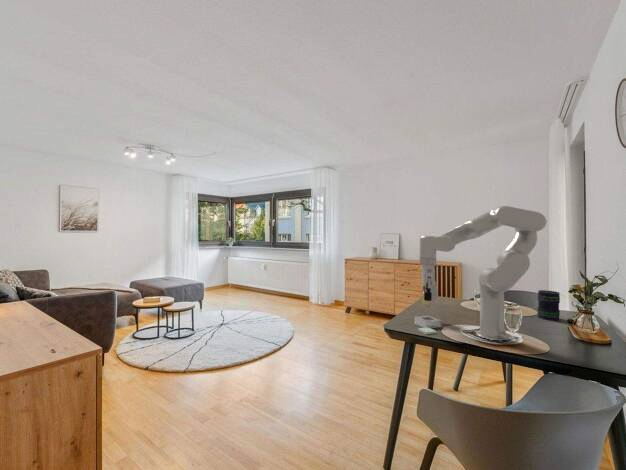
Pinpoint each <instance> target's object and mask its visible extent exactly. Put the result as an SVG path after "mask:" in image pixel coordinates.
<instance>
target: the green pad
mask: <svg viewBox="0 0 626 470" xmlns="http://www.w3.org/2000/svg"><path fill="white" fill-rule="evenodd" d="M417 331H418V332H420V333H422V334H424V335H433V334H437V330H435V329H434V328H428V327H426V328H423V327H418V328H417Z"/></svg>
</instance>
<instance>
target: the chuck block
mask: <svg viewBox="0 0 626 470" xmlns="http://www.w3.org/2000/svg"><path fill="white" fill-rule="evenodd" d="M414 324H415V325H417V326H419V327H420V328H426V327H428V328H431V329H436V328H441V327H442V323H441V319H439V318H436V317H434V316H432V315H431V316H429V315H422V316H419V315H417V316H414Z"/></svg>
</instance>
